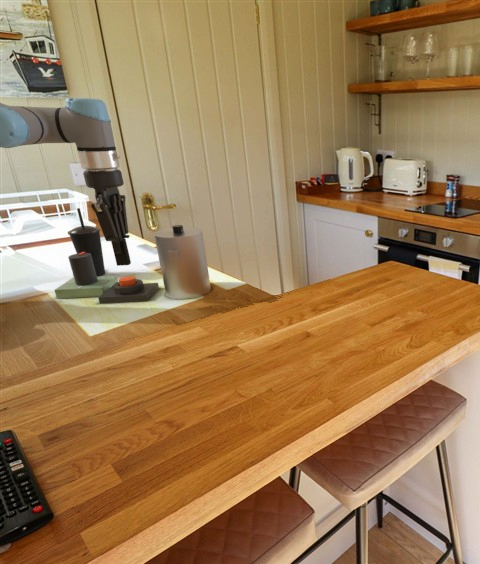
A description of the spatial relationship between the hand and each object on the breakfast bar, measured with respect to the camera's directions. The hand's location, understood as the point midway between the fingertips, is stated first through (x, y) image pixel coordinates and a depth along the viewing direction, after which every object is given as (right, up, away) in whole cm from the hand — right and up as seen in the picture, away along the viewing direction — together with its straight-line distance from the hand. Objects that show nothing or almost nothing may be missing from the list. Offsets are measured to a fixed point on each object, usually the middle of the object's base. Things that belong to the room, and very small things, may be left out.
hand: (124, 264), depth 108 cm
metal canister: (+13, -7, +7) cm, 17 cm away
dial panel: (-13, -7, +6) cm, 16 cm away
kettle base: (0, -9, +3) cm, 9 cm away
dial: (-13, -5, +5) cm, 14 cm away
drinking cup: (-21, -3, +19) cm, 28 cm away
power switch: (0, -5, +2) cm, 6 cm away
